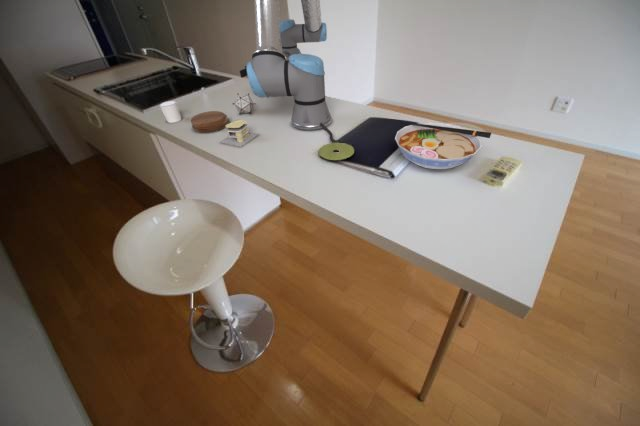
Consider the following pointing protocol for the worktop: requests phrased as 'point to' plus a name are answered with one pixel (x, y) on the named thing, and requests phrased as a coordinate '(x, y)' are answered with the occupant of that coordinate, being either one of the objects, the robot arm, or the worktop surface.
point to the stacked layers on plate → (238, 133)
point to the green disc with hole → (329, 149)
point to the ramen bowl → (438, 144)
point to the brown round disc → (209, 122)
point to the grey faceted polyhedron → (244, 103)
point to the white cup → (171, 111)
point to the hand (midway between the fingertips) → (253, 75)
